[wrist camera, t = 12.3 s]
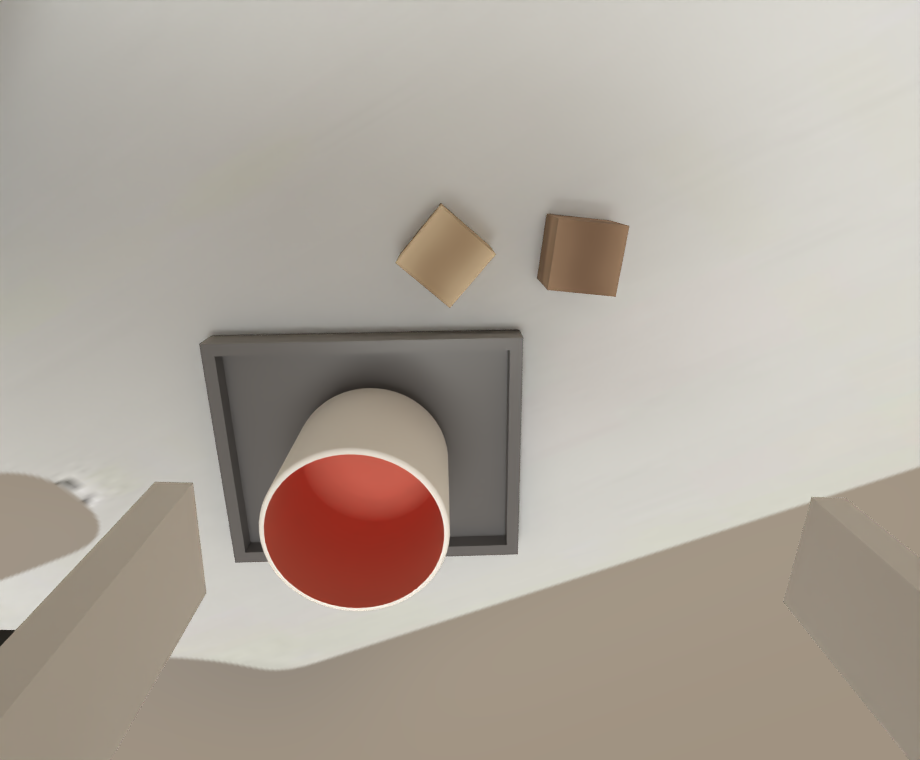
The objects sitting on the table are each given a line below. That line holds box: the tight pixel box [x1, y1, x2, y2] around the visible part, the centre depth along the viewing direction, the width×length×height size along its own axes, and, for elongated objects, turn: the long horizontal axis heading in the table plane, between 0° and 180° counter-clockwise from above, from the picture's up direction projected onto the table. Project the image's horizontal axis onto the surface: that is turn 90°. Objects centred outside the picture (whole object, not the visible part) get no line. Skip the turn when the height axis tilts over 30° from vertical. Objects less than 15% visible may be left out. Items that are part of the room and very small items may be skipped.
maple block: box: [396, 204, 496, 308], centre depth 35 cm, size 4×4×4 cm
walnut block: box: [537, 214, 629, 297], centre depth 35 cm, size 4×4×4 cm
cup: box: [259, 388, 450, 611], centre depth 35 cm, size 10×10×10 cm
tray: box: [199, 330, 523, 563], centre depth 40 cm, size 20×16×2 cm
